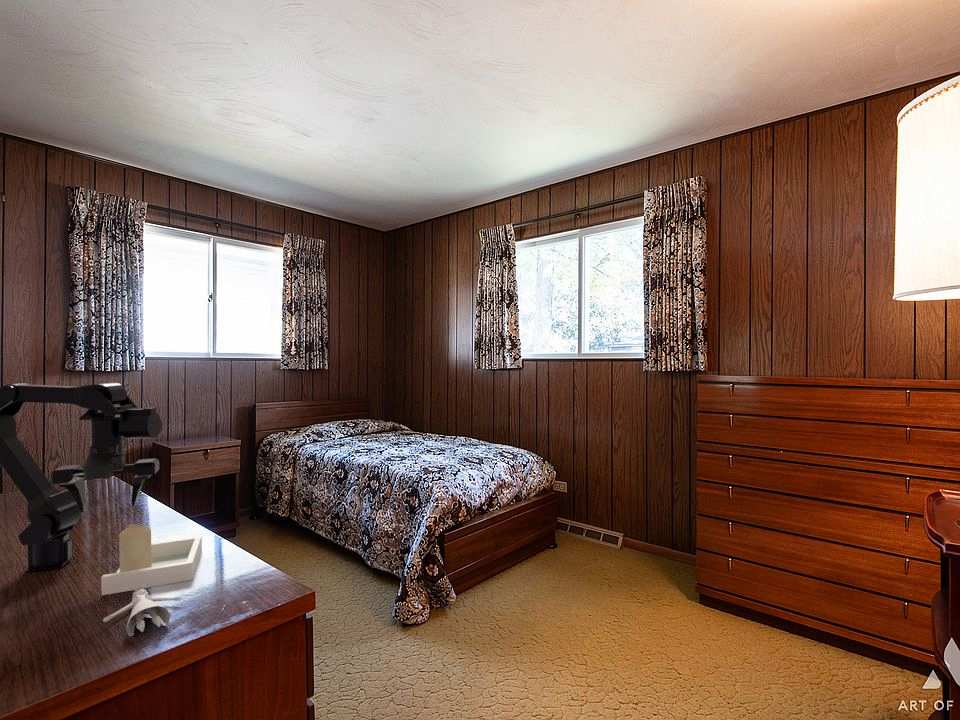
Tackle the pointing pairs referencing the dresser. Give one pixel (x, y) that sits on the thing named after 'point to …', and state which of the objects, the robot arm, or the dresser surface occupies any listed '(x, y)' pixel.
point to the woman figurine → (145, 610)
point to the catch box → (158, 567)
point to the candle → (135, 547)
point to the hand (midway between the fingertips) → (108, 508)
